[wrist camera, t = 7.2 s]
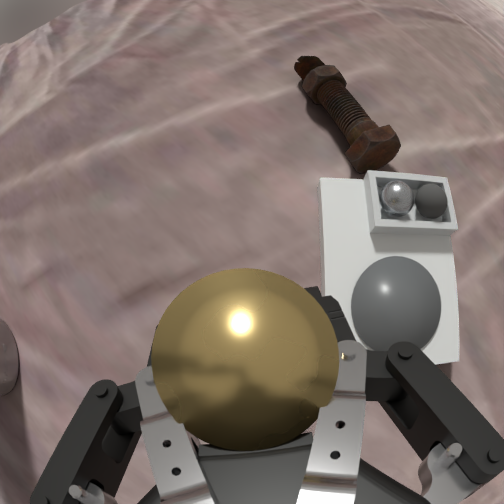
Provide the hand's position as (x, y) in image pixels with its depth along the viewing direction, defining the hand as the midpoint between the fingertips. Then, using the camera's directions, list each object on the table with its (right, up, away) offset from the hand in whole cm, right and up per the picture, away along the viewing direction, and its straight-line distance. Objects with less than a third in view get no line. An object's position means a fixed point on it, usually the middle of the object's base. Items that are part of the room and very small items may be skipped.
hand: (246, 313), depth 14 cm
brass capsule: (0, -3, +4) cm, 5 cm away
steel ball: (+12, +7, +10) cm, 17 cm away
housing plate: (+12, +1, +11) cm, 17 cm away
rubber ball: (+15, +7, +9) cm, 19 cm away
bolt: (+9, +17, +17) cm, 26 cm away
